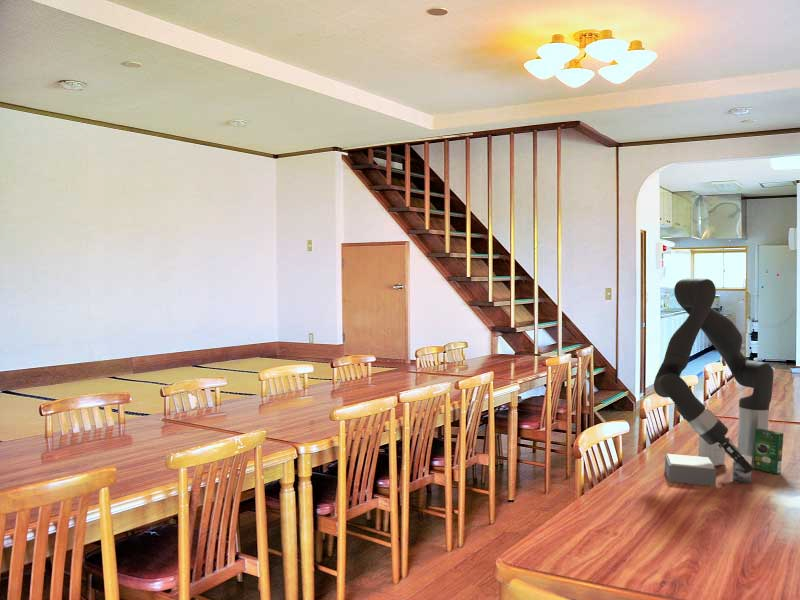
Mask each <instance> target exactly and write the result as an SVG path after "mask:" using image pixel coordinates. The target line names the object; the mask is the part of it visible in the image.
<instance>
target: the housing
mask: <svg viewBox="0 0 800 600" xmlns="http://www.w3.org/2000/svg"><path fill="white" fill-rule="evenodd" d="M740 454H741V455H742V456H744V458H745V460H746V461H747V462H748V463H749V464H750V465H751V466H752V467H753V463H752V462H753V460H752V456H751V455H749V454H744V453H740ZM739 457H740V456H739V455H737V456H736V457H735V458H736V459H738V458H739ZM732 459H733V458H732ZM732 464H733V465H732V481H733V482H734V481H735V483H737V482H739V483H738V484H742V483H749V484H751V483H752V471H751V472H749V473H748V472H746V471H745V470H744V468H743V467H742V466H741V465H740V464H738V463H736V461H735V460H734V459H733V461H732Z"/></svg>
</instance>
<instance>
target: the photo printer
mask: <svg viewBox="0 0 800 600" xmlns="http://www.w3.org/2000/svg"><path fill="white" fill-rule="evenodd" d="M726 435H727V434H726ZM726 435H725V437H726ZM726 438H727V437H726ZM698 440H699V441H698V456H699V457H708V458H709V459H710V460H711V462H712V463H713V465H714V466H715V467H716V466H717V467H718V466H720V465H724V464H725V462H726V460H725V459H726V458H725V457H726V456H725V455H726V453H725V452H724V451H722V450H721V449H720V448H719V446H718V445H719V443H718V442H717V443H715V444H713V445H709V444H707V442H706V441H705V440H704V439H703V438H702V437H701V436H700V435H699V439H698Z"/></svg>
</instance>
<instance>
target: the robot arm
mask: <svg viewBox="0 0 800 600" xmlns="http://www.w3.org/2000/svg"><path fill="white" fill-rule="evenodd" d="M716 289H717V288H716V285H715V284H714V282H713V281H712V280H711V279H708V278H702V277H701V278H684V279H681V280H678V281H677V282H676V284H675V286H674V289H673V290H674V291H673V292H674V296H675V297H674V298H675V299H676V302H677V303H678V305H679V306H681V308H682V309H683V310H684V311H685V312H686V313H687V314H688V317H686V319H685V320H684V321H683V323H681V325H680V327H678V328H677V330H676V331H675V332H673V334H672V336H671V338H670V340H669V342H668V344H667V347H666V350H665V355H664V358H663V361H662V363H661V364H660V367H659V369H658V371H657V373H656V374H655V378H654V380H653V389H654V392H655V393H656V395H657V396H659V397H661V398H664V399H665V398H666V399H667V398H670V400H671V401H672V402H673V403H674V404H675V408H676V411H677V412H678V413H679V414H680V416H681V417H683V419H684V420H685V421H686V422H687V423H688V425H690V427H691V428H692V429H693V430H694V431H695V432H696V433H697V434H698V435H699V436H701V437H702V438H703V439H704V440H705V441H706V442H707V444H709V445H713V444H715V443H717V442H718V443H719V445H718V446H719V448H720V449H721V450H722V451H724V452H725V455H727V457H729V458H730V459H734V460H735V461H736V463H738V464H740V465H741V466H742V467H743V468H744V470H745V471H746V472H748V473H749V472H751V473H752V472H753V471H754V468H753V465H752V466H751V465H750V464H749V463H748V462H747V461H746V460H745V458H744V456H742V455H741V454H740V453H744V454H749V455H751V456H752V461H754V446H755V431H756V429H758V428H761V429H765V430H769V420H770V417H769V416H770V414H769V413H770V404H771V401H772V396H773V395H772V394H773V387H774V384H773V383H774V369H773V367H772V365H771V363H769V362H764V361H757V360H750V359H748V358H746V357H745V356H744V354H743V353H742V351H741V349H742V344H743V336H742V333H741V332H740V331H739V328H738V327H737V326H736V325H735V324H734V322H733V320H731V319H730V318H728V317H727V316H726V315H724V314H723V313H721V312H719V311H718V310H716V309H714V308H713V307H712V306H713V304H714V302H715V298H716V295H717V290H716ZM700 330H701V331H703V333H704V334H705V336H706V337H707V340H709V342H710V343H711V344H712V346H713V347H714V348H715V350H716V351H717V352H718V353H719V355H720V356H721V357H722V359H723V361H724V362H725V364H726V365H727V367H728V368H729V371H730V373H731V374H732V376H733V378H734V380H735V381H736V382H737V383H738V384H739V385H740V386H742V387H746V388H751V389H752V394H751V395H749V396H744V397H741V398H739V400H738V422H737V423H738V424H737V446H736V445H735V443H734V442H733V440H731V438H729V437H725V435H727V434H728V432H729V428H728V427H727V426H726V425H725V424H724V423H723V422H722V421H721V420H720V419H719V418H718V417H717V415H715V414H714V413H713V412H712V411H711V410H710V409H708V408H707V407H706V406H705V405H704V404H703V402H701V400H699V399H698V398H697V397H696V396H695V395H694V393H693V391H692V389H691V388H690V386H689V384H688V383H687V382H686V381H685V380H684V379H683V378H682V377H681V374H682V372H683V371H684V370H685V369H686V368H687V367H688V363H689V361H690V360H689V359H690V357H691V354H692V350H693V347H694V343H695V342H696V338H697V337H698V335H699V333H700ZM737 455H739V456H740V457H739V458H738V459H736V458H735V457H736V456H737Z"/></svg>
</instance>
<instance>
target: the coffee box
mask: <svg viewBox="0 0 800 600" xmlns="http://www.w3.org/2000/svg"><path fill="white" fill-rule="evenodd" d="M783 445H784V433H783V432H779V431H777V432H776V431H773V430H769V429H768V430H765V429H761V428H758V429H756V431H755V446H754V460H753V463H752V467H753V470H754V469H755V470H758V471H763V472H766V473H769V474H773V473H774V475H780V474H781V473H782V458H783V447H784V446H783ZM779 473H780V474H779Z"/></svg>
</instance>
